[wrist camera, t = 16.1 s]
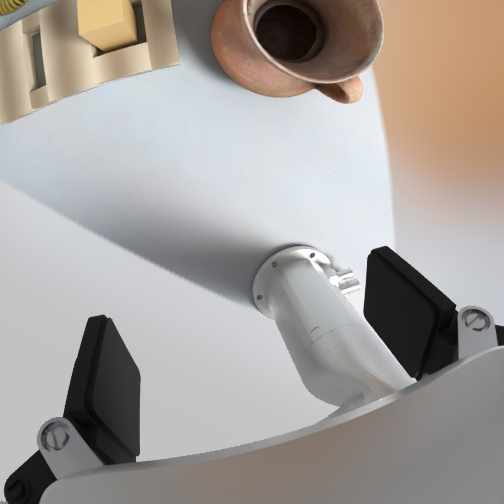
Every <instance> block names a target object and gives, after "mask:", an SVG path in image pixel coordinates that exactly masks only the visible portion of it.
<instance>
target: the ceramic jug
mask: <svg viewBox="0 0 504 504" xmlns="http://www.w3.org/2000/svg"><path fill="white" fill-rule="evenodd" d="M383 37H384V23H383V17H382V15H381V9H380V6H379V3H378V1H377V0H224V1H223V2H222V3H221V5H220V6H219V7H218V9H217V11H216V13H215V15H214V18H213V21H212V26H211V44H212V48H213V52H214V54H215V57H216V59H217V61H218V63H219V64H220V66H221V67H222V69H223V70H224V71H225V72H226V74H227V75H228V76H229V77H230V78H231V79H233V80H234V81H235V82H236V83H238V84H239V85H241V86H242V87H244V88H246V89H248V90H250V91H252V92H254V93H257V94H260V95H264V96H269V97H292V96H297V95H300V94H303V93H306V92H308V91H310V90H312V89H317V90H319V91H320V92H321V93H323V94H324V95H326V96H328V97H330V98H332V99H333V100H335V101H337V102H340V103H344V104H348V103H354V102H357V101H358V100H360V98H361V96H362V93H363V84H362V82H361V80H360V78H359V77H358V76H357V75H359V74H361V73H362V72H364V71H365V70H367V69H368V68H369V67H370V66H371V65H372V63H373V62H374V61H375V59H376V57H377V55H378V54H379V52H380V50H381V47H382V44H383Z"/></svg>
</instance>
